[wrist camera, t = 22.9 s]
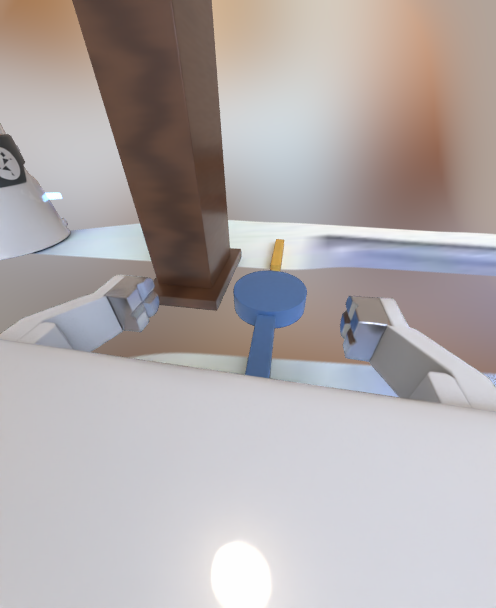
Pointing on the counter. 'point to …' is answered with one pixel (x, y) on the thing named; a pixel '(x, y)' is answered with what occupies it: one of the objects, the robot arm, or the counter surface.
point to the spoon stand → (167, 136)
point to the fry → (277, 255)
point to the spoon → (267, 312)
